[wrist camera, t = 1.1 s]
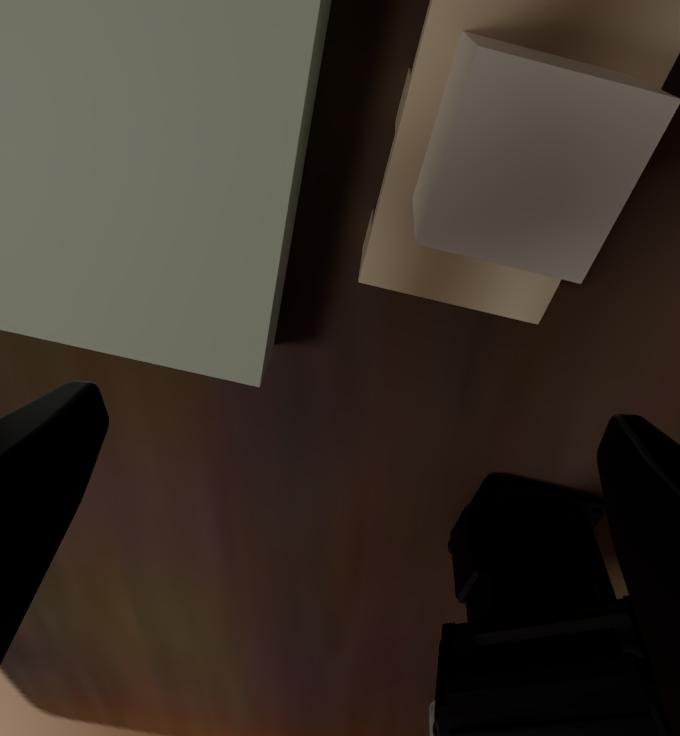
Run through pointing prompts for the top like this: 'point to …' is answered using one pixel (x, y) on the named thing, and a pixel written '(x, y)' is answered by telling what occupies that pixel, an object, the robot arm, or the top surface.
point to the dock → (154, 173)
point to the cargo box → (533, 157)
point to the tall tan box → (419, 112)
